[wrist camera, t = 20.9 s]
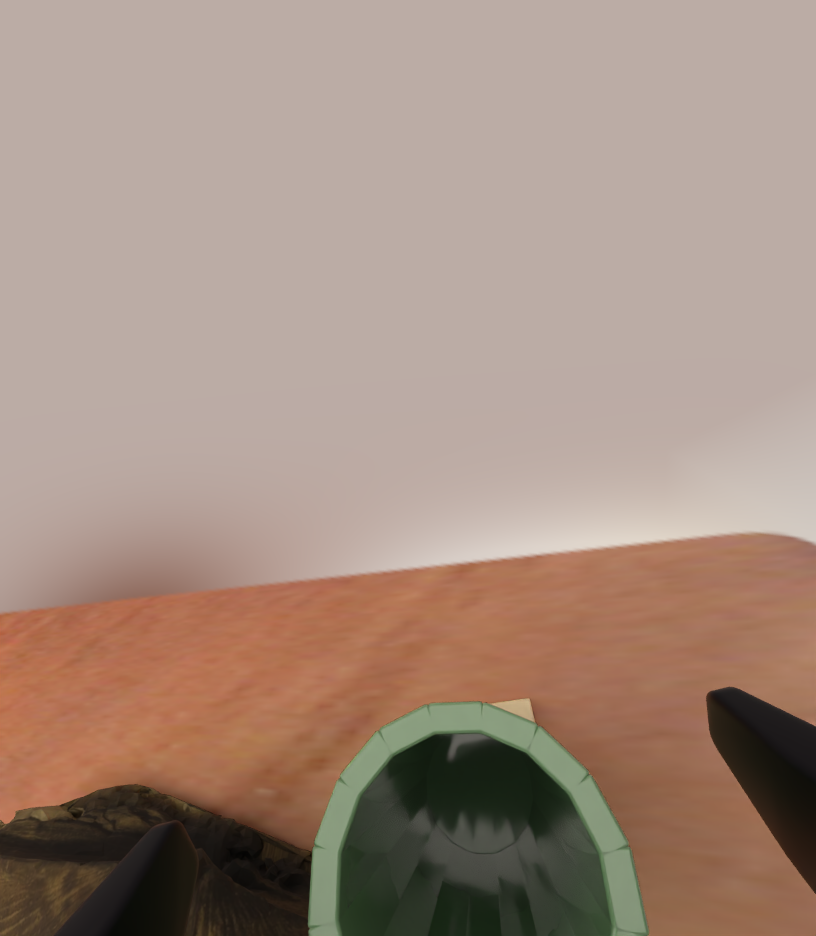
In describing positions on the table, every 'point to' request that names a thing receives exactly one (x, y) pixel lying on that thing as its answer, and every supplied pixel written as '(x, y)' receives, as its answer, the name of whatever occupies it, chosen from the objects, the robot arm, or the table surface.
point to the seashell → (113, 836)
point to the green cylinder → (470, 836)
